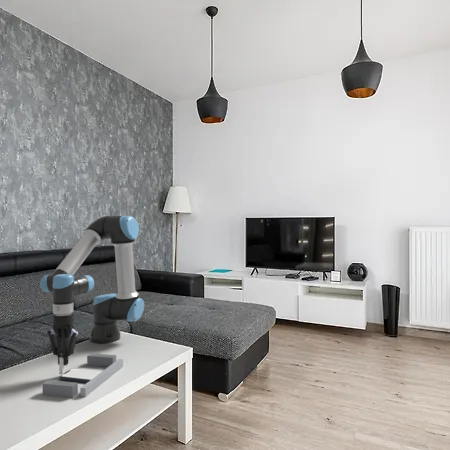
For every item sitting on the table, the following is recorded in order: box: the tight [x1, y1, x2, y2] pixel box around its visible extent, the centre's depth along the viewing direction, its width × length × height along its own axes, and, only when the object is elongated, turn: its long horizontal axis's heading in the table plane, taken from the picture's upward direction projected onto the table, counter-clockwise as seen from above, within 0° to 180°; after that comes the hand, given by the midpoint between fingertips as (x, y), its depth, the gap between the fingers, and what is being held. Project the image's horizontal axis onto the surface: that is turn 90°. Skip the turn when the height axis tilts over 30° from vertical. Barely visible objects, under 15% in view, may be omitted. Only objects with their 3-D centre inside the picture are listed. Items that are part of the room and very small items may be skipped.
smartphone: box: [59, 368, 103, 384], centre depth 147 cm, size 9×2×16 cm
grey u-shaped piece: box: [42, 353, 124, 399], centre depth 146 cm, size 31×16×4 cm, turn 168°
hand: (63, 372), depth 148 cm, fingers closed
